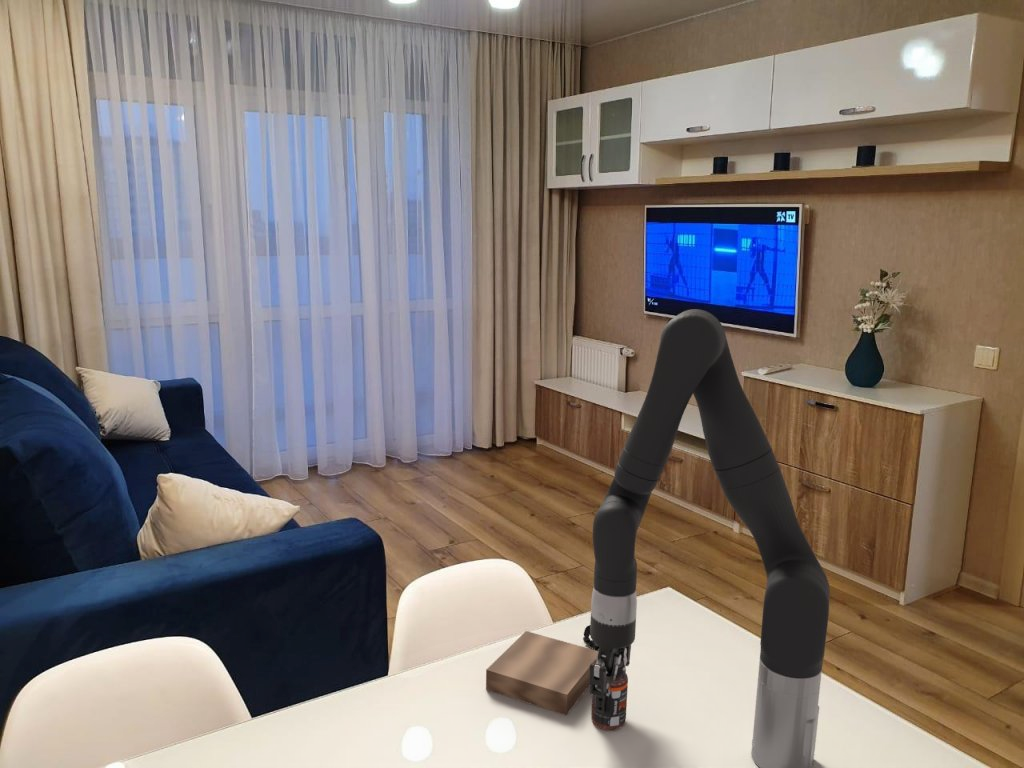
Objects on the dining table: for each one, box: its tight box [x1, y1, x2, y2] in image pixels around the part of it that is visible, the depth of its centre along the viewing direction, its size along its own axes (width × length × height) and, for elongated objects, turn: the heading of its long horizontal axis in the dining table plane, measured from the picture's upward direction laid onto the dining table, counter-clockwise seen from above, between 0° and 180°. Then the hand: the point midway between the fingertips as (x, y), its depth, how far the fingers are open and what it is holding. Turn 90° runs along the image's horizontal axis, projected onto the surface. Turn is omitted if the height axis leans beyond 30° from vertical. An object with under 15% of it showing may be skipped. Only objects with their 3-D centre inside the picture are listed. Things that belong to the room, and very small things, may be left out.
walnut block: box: [485, 630, 597, 716], centre depth 152 cm, size 16×16×4 cm
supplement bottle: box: [590, 660, 629, 731], centre depth 140 cm, size 6×6×11 cm
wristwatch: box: [582, 624, 599, 651], centre depth 165 cm, size 3×5×5 cm
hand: (609, 702), depth 140 cm, fingers closed on supplement bottle, 6 cm apart
